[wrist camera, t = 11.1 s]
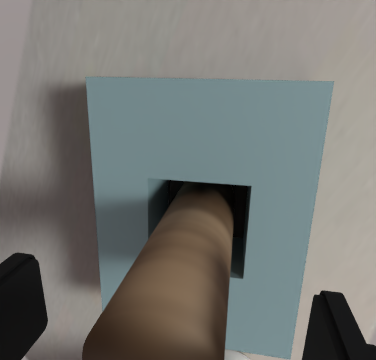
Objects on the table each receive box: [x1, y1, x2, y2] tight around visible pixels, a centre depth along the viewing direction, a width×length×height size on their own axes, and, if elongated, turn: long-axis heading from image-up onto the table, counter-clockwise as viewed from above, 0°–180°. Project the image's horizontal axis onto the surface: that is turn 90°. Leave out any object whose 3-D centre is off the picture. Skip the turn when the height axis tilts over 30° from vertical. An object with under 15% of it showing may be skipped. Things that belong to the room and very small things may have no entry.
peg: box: [82, 181, 235, 360], centre depth 15 cm, size 4×4×14 cm
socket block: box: [86, 77, 334, 359], centre depth 19 cm, size 16×12×5 cm
